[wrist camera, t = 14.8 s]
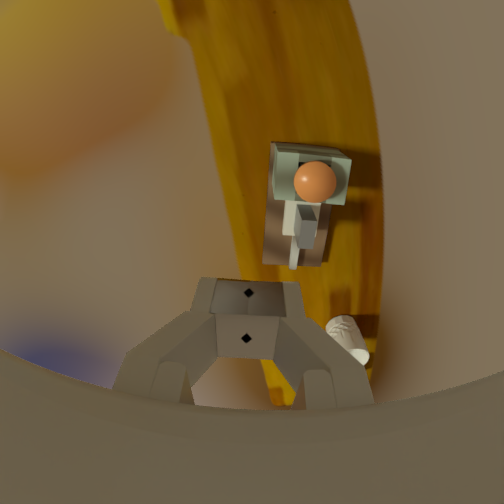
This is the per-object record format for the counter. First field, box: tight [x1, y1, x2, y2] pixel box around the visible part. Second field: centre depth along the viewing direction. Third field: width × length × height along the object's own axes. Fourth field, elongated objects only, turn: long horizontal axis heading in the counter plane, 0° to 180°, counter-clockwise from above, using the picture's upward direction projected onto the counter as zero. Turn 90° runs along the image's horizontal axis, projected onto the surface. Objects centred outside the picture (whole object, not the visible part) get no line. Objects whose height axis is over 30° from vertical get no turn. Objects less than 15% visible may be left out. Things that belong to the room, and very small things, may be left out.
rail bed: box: [262, 142, 352, 269], centre depth 39 cm, size 20×10×8 cm, turn 177°
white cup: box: [326, 315, 369, 366], centre depth 52 cm, size 8×8×10 cm
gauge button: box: [294, 161, 336, 203], centre depth 33 cm, size 5×5×4 cm
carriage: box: [282, 200, 321, 249], centre depth 38 cm, size 6×5×8 cm
